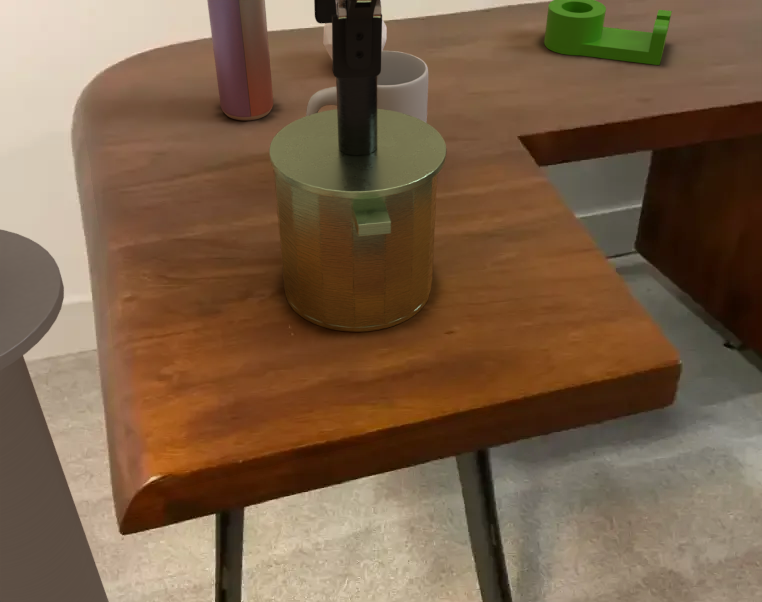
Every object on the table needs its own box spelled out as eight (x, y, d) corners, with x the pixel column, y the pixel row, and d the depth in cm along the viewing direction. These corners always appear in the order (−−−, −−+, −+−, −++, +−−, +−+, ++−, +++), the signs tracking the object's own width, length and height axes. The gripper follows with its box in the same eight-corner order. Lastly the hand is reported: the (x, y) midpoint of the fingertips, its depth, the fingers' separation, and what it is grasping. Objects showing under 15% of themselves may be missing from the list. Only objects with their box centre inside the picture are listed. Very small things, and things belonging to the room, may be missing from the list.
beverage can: (224, 124, 102) (206, -17, 91) (218, 101, 106) (201, -36, 96) (277, 119, 103) (266, -22, 92) (269, 96, 107) (258, -41, 97)
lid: (279, 214, 65) (270, 112, 60) (263, 128, 75) (254, 33, 70) (464, 197, 67) (471, 96, 62) (425, 115, 77) (428, 22, 72)
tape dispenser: (539, 51, 117) (543, 13, 113) (549, 30, 122) (554, -6, 118) (659, 66, 113) (667, 28, 110) (664, 44, 118) (672, 7, 115)
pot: (296, 361, 72) (285, 223, 63) (275, 237, 85) (263, 109, 76) (452, 343, 74) (462, 206, 65) (408, 225, 87) (411, 97, 78)
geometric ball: (371, 90, 115) (399, 50, 108) (311, 73, 111) (335, 31, 104) (372, 39, 117) (398, -3, 110) (313, 21, 114) (336, -23, 107)
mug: (413, 149, 97) (415, 45, 90) (435, 188, 91) (440, 81, 84) (302, 162, 95) (295, 57, 88) (317, 203, 89) (311, 95, 82)
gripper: (267, -269, 59) (281, 5, 71) (296, -219, 47) (307, 103, 58) (382, -268, 60) (377, 1, 72) (440, -220, 48) (422, 96, 59)
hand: (346, 47), depth 65 cm, fingers open, 9 cm apart
